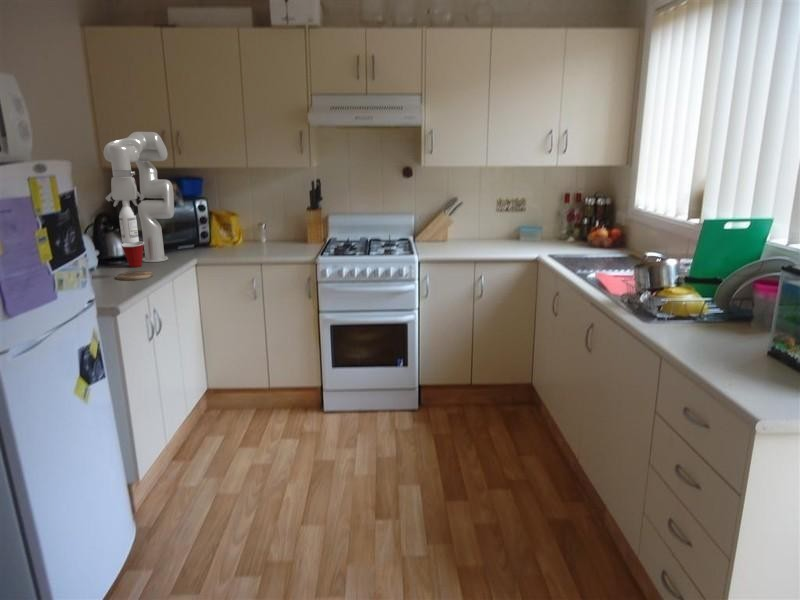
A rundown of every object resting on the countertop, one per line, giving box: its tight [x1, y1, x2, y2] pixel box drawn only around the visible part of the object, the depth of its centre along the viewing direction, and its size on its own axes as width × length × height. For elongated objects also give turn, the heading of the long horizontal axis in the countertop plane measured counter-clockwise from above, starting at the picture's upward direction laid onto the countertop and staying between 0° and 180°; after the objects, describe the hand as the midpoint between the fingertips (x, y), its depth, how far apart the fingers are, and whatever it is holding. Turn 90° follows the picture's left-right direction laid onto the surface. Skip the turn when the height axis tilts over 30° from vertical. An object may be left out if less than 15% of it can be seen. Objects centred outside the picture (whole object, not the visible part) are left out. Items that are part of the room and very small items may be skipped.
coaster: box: [116, 270, 153, 282], centre depth 256 cm, size 15×15×1 cm
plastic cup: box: [120, 240, 144, 268], centre depth 276 cm, size 11×11×12 cm
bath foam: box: [118, 200, 140, 244], centre depth 249 cm, size 7×7×20 cm
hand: (127, 214), depth 248 cm, fingers closed on bath foam, 6 cm apart
